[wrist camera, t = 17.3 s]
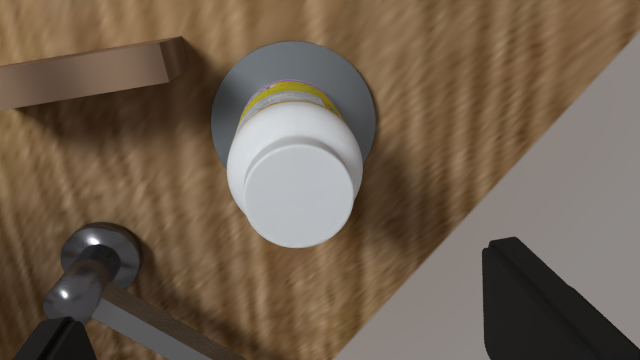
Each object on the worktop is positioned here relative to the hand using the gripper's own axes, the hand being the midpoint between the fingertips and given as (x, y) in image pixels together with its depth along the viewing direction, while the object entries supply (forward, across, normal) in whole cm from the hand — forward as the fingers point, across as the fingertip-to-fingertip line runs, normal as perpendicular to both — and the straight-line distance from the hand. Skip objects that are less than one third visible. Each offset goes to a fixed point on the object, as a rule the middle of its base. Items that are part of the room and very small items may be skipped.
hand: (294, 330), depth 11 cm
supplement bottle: (+22, -1, +1) cm, 22 cm away
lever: (+22, +10, +13) cm, 27 cm away
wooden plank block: (+23, +11, -5) cm, 26 cm away
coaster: (+22, -1, +1) cm, 23 cm away
